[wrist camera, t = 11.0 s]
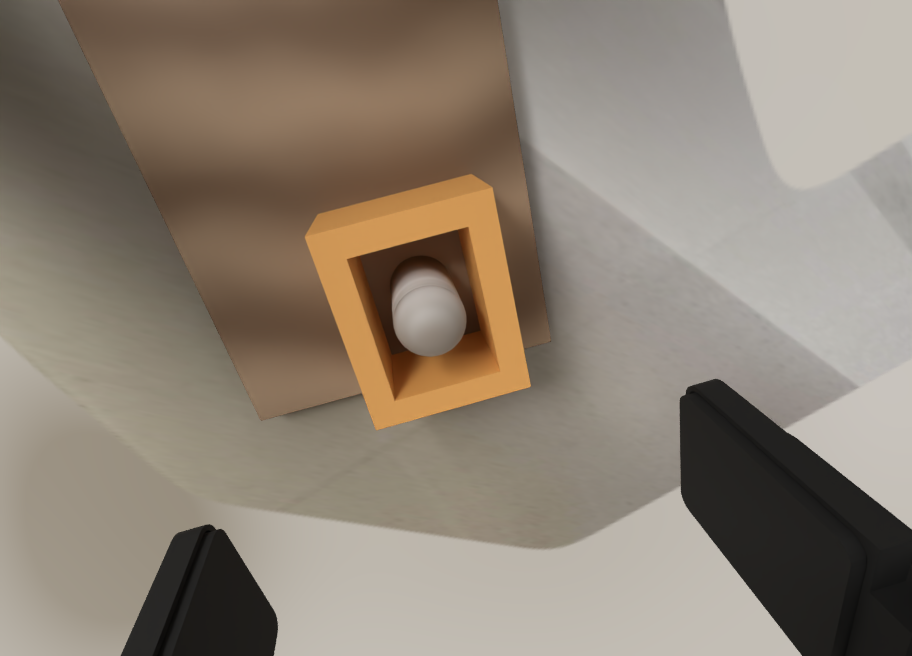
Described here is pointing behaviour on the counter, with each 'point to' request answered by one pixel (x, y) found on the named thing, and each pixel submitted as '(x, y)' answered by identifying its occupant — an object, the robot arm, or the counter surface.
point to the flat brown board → (315, 163)
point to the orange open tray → (347, 289)
